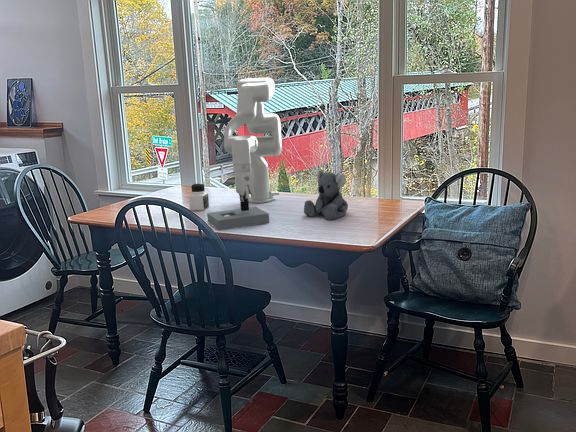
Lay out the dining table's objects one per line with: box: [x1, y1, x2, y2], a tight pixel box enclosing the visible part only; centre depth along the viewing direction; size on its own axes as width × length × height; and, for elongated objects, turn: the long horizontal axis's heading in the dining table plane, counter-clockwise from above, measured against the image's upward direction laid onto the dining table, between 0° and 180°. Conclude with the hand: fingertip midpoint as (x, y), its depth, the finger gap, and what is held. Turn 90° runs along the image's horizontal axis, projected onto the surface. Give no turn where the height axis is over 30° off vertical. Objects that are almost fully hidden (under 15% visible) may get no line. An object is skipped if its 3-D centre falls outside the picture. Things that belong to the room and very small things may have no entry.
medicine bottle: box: [188, 182, 210, 211], centre depth 271 cm, size 7×7×12 cm
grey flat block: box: [206, 206, 270, 231], centre depth 242 cm, size 22×16×4 cm
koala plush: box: [303, 169, 349, 221], centre depth 247 cm, size 17×18×20 cm
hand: (244, 210), depth 243 cm, fingers closed
